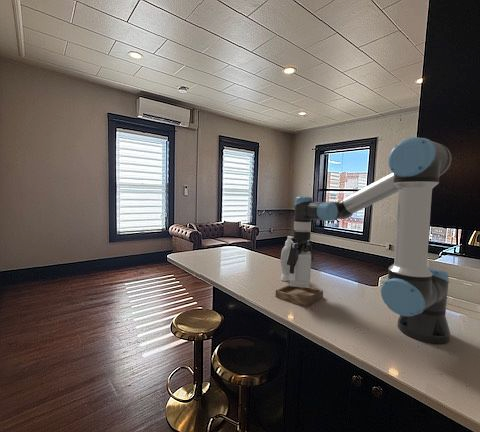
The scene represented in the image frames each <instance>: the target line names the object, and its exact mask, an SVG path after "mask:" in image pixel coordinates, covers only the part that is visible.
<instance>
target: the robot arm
mask: <svg viewBox="0 0 480 432" xmlns="http://www.w3.org/2000/svg"><path fill="white" fill-rule="evenodd" d="M387 163H388V168H389V170H390V171H391V173H388V174H386V175H384V176H383V177H381V178H379V179H377V180H375V181H373V182H372V183H369V184H368V185H366V186H364V187H363V188H360V189H358V190H357V191H354V192H353V193H352V194H350V195H348V196H346V197H344V198H342V199H340V200H339V201H336V202H335V201H313V197H312V196H296V197H295V199H294V219H293V221H294V222H293V230H294V231H293V235H292V237H293V238H292V239H294V240H295V241H294V242H293V243H291V249H290V253H289V257H288V260H287V265H289V266H290V276H289V280H292V281H296V266H295V264H296V262H297V259H298V255H299V254H300V253H301V252H302V251H305V252H309V251H310V253H311V262H313V261H314V254H313V249H312V240H311V230H312V220H319V221H326V222H327V221H330V222H331V221H334V220H346V219H349V218H351V217H352V216H353V214H354V213H355V214H356V213H357V212H359V211H361V210H363V209H366V208H368V207H370V206H371V205H374V204H377V203H378V202H380V201H382V200H384V199H387V198H388V197H389V198H390V196H393V195H395V194H397V193H398V195H397V196H398V197H397V210H396V211H397V213H396V225H395V226H396V227H395V228H396V230H395V242H394V243H395V245H394V246H395V247H394V263H393V264H391V265H390V266H388V274H387V280H386V281H384V283H383V284H382V285H381V288H380V295H381V299H382V301H383V303H384V304H385V305H386V306H387V307H388V309H389V310H390V311H392V312H393V313H394V314H397V315H399V316H398V320H397V328H398V329H399V331H400V332H402V333H403V334H405V335H406V336H409V337H411V338H413V339H414V340H418V341H422V342H425V343H427V344H429V343H430V344H439V345H441V344H447V343H449V342H450V341H451V330H450V327H449V323H448V320H447V317H446V312H447V311H446V310H447V300H448V292H449V284H450V281H449V279H450V278H449V273H448V272H447V271H445V270H442V269H439V268H434V267H428V255H429V254H428V253H429V252H428V251H429V240H430V239H429V237H430V227H431V225H430V223H431V211H432V209H431V207H432V197H433V196H432V193H433V189H434V188H435V187H436V186H437V185H439V184H440V177H441V176H442V175H443V174H445V173H446V172H447V171H448V170H449V169H450V166H451V164H452V154H451V152H450V149H449V148H448V147H447V146H445V145H444V144H442V143H440V142H435V141H432V140H431V139H429V138H426V137H408V138H405V139H403V140H401V141H399V142H397V144H395V146H394V147H393V148H392V149H391V151H390V152H389V155H388V158H387Z"/></svg>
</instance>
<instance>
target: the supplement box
mask: <svg viewBox="0 0 480 432" xmlns="http://www.w3.org/2000/svg"><path fill="white" fill-rule="evenodd" d="M295 266H296V281H292V280H290V281H289V285H290V286H294V287H304V288H310V287H311V285H310V284H311V270H312V261H311V253H310V251H309V252H305V251H302V252H301V253H300V254H299V255H298V259H297V262H296V264H295Z"/></svg>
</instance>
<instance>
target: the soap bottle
mask: <svg viewBox="0 0 480 432" xmlns="http://www.w3.org/2000/svg"><path fill="white" fill-rule="evenodd" d="M292 239H294V238H293V235H292V236H291V235H288V236H287V239H286V241H284V242H285V243H284V246H283V247H282V249H281V253H280V254H281V255H280V267H281V272H282V273H281V277H280V281H281V282H290V280H289V276H290V266H289V265H287V260H288V257H289V253H290V249H291V243H294V241H293V240H292Z"/></svg>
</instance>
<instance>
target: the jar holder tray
mask: <svg viewBox="0 0 480 432" xmlns="http://www.w3.org/2000/svg"><path fill="white" fill-rule="evenodd" d="M275 297H276V298H278V299H282V300H283V301H287V302H291V303H292V304H296V305H299V306H301V307H304V308H306V307H308V306H310V305H312V304H314V303H315V302H318V301H319V300H321V299H322V298H323V297H324V290H321V289H317V288H314V287H311V286H310V288H304V287H294V286H290V284H288V285H284V286H283V287H281V288H277V289H276V290H275Z"/></svg>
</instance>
